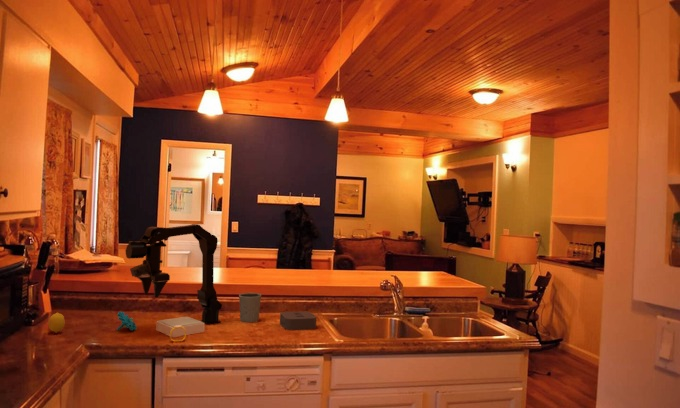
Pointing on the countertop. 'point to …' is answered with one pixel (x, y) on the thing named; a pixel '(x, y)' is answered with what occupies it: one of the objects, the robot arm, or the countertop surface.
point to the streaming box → (297, 320)
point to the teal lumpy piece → (126, 321)
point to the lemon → (56, 322)
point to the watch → (177, 328)
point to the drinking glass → (249, 307)
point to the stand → (186, 322)
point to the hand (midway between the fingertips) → (151, 295)
